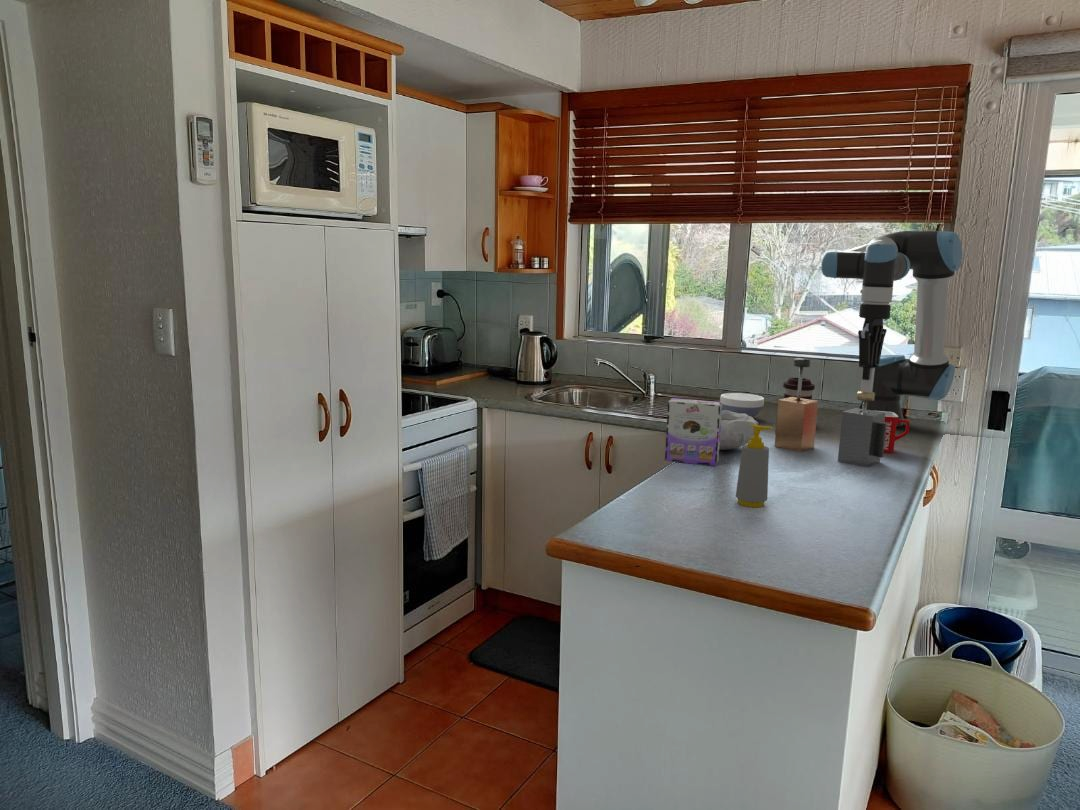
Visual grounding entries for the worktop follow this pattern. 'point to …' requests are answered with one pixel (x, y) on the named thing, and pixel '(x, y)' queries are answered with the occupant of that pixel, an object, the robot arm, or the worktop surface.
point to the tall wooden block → (796, 423)
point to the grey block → (862, 437)
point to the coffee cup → (792, 388)
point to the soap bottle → (753, 471)
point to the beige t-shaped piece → (865, 398)
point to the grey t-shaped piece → (801, 372)
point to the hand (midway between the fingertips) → (866, 391)
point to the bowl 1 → (742, 403)
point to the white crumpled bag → (735, 430)
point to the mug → (892, 430)
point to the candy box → (693, 431)
